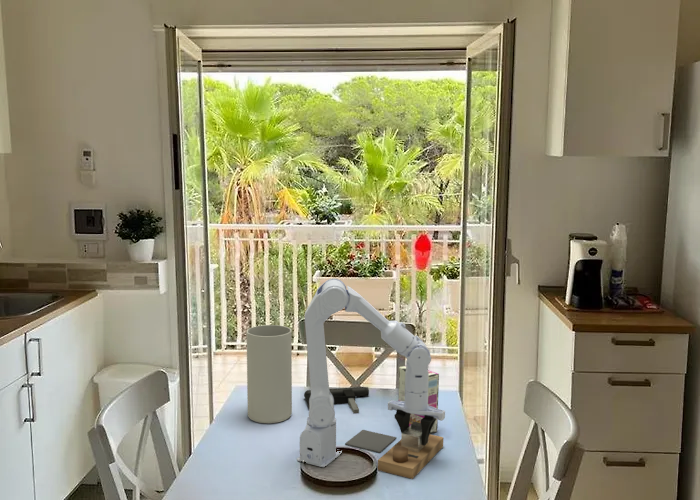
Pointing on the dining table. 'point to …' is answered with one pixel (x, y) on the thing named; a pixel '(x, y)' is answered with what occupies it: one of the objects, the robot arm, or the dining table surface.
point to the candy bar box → (432, 395)
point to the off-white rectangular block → (412, 437)
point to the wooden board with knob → (409, 458)
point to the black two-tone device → (344, 396)
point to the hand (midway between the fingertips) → (415, 441)
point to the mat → (370, 441)
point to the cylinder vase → (269, 373)
